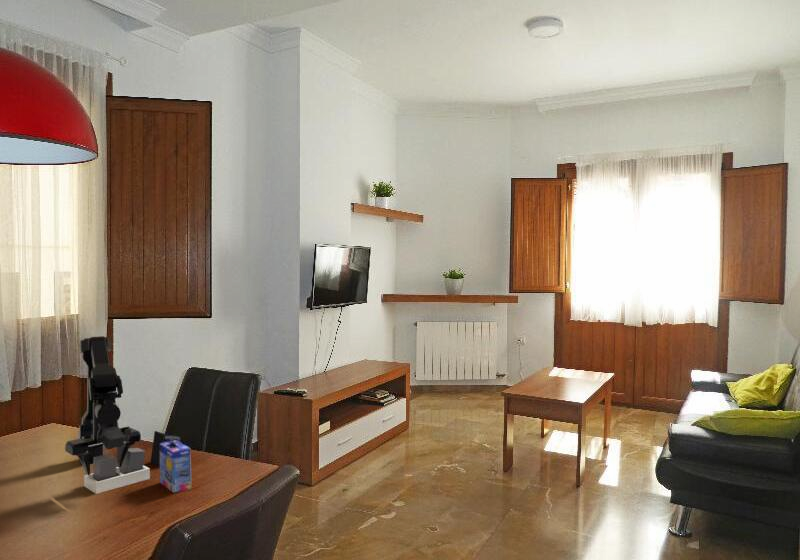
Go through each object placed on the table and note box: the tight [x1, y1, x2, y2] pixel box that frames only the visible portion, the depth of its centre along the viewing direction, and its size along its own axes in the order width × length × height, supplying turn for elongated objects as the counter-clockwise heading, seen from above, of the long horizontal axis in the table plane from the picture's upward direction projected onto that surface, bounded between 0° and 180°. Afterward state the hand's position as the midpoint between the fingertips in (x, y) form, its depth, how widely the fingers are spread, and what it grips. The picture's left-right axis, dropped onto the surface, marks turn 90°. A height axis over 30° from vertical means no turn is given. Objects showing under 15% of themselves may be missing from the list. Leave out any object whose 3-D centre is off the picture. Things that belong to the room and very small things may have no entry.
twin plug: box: [120, 447, 146, 474], centre depth 174 cm, size 4×4×8 cm
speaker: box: [150, 430, 181, 467], centre depth 187 cm, size 8×6×10 cm
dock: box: [83, 464, 151, 495], centre depth 170 cm, size 8×15×4 cm, turn 140°
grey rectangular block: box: [92, 453, 117, 481], centre depth 168 cm, size 4×4×8 cm
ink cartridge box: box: [159, 437, 192, 493], centre depth 169 cm, size 10×6×14 cm, turn 45°
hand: (104, 471), depth 167 cm, fingers open, 8 cm apart
